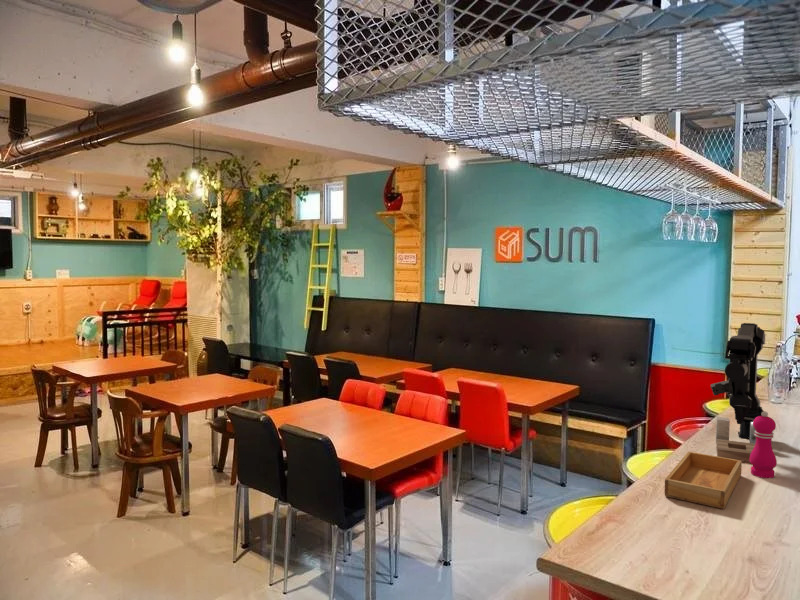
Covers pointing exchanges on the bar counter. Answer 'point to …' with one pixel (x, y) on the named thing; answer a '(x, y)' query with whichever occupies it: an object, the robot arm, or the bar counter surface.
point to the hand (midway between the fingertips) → (738, 420)
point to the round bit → (752, 433)
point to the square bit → (722, 428)
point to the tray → (703, 479)
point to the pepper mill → (763, 447)
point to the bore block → (734, 450)
